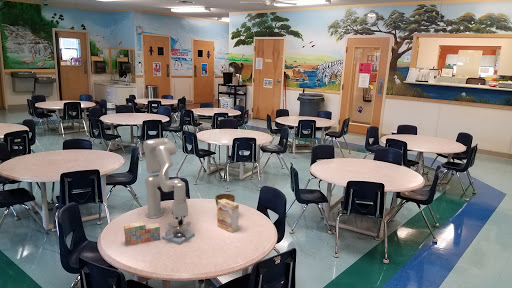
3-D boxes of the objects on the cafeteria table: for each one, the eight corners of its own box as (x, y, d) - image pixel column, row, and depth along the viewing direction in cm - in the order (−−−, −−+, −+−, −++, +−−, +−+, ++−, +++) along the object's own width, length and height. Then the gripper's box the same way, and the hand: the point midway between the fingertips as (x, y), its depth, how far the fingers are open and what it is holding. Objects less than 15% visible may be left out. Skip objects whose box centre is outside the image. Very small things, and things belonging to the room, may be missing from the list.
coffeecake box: (216, 226, 263) (216, 200, 258) (224, 223, 268) (224, 198, 264) (231, 233, 253) (231, 206, 248) (238, 230, 258) (239, 203, 254)
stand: (177, 230, 255) (177, 227, 254) (194, 235, 248) (194, 232, 247) (162, 239, 242) (162, 236, 241) (180, 245, 235) (179, 241, 234)
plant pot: (238, 215, 282) (238, 195, 279) (227, 222, 270) (227, 201, 267) (223, 211, 290) (223, 192, 287) (211, 217, 278) (211, 197, 274)
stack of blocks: (158, 235, 247) (157, 218, 244) (160, 239, 241) (159, 222, 239) (124, 242, 238) (123, 224, 235) (126, 246, 232) (125, 228, 230)
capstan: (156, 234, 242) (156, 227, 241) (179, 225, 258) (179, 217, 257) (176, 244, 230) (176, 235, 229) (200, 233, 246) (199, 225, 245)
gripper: (188, 196, 254) (188, 221, 258) (167, 200, 246) (167, 225, 250) (192, 200, 248) (192, 225, 252) (170, 203, 240) (171, 229, 244)
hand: (180, 225), depth 251 cm, fingers closed
